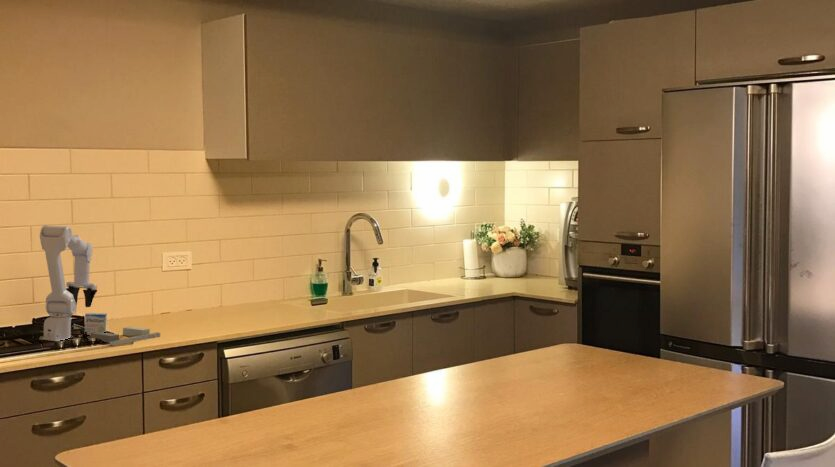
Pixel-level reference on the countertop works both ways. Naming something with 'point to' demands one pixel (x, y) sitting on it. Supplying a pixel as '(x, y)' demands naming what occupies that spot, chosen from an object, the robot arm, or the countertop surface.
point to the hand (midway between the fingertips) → (81, 306)
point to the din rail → (134, 339)
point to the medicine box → (95, 322)
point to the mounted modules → (111, 337)
